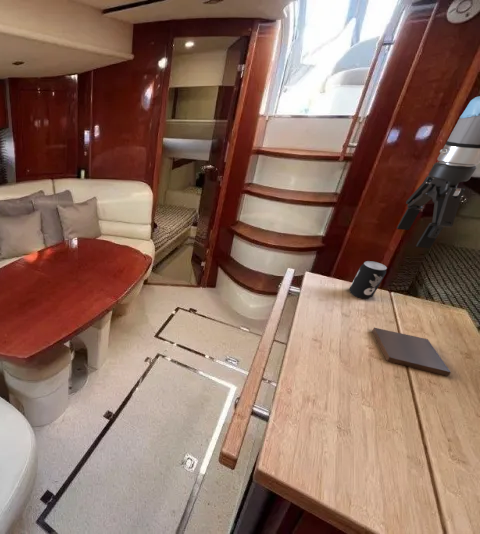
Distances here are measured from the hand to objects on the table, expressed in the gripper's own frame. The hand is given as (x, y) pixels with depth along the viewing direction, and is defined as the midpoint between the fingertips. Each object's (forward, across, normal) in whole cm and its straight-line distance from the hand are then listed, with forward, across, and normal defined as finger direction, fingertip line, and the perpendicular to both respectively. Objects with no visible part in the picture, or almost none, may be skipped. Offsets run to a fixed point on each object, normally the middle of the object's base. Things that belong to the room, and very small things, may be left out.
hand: (412, 237), depth 90 cm
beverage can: (+25, -6, -2) cm, 26 cm away
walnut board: (+25, +22, +2) cm, 34 cm away
